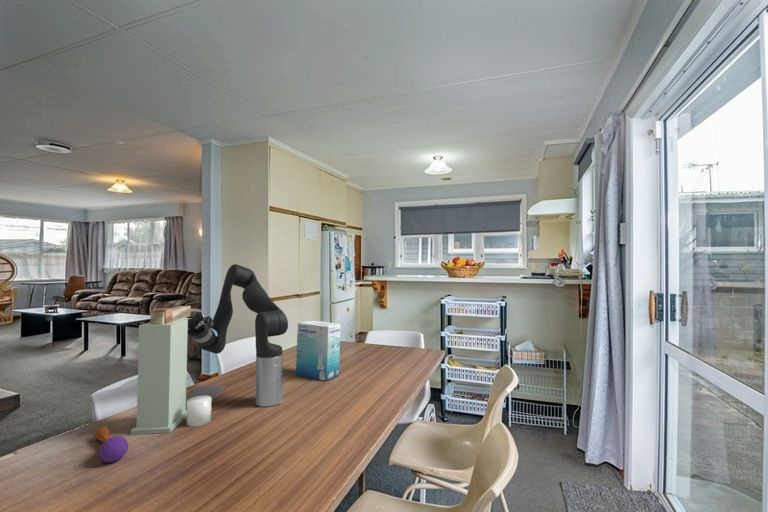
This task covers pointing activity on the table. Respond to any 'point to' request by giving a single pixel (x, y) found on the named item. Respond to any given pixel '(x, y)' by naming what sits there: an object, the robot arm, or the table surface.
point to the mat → (206, 392)
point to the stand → (161, 377)
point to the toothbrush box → (318, 350)
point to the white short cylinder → (198, 410)
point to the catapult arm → (169, 314)
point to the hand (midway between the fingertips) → (184, 314)
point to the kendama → (111, 445)
